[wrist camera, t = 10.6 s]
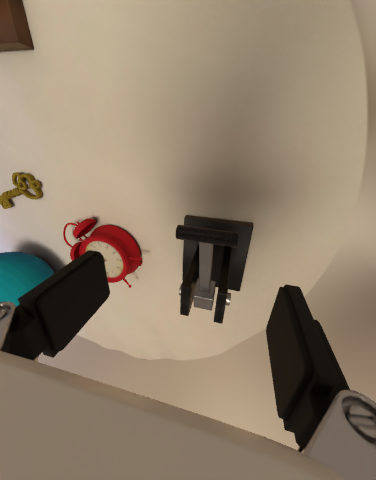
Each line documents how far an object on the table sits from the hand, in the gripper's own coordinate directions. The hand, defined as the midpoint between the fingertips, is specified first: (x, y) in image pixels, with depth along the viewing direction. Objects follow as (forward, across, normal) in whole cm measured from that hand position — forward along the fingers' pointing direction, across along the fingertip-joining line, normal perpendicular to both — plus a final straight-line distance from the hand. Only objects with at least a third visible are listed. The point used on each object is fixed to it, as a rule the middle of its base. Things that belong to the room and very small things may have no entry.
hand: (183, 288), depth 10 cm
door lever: (+10, 0, +4) cm, 11 cm away
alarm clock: (+20, +20, +11) cm, 30 cm away
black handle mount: (+20, 0, +9) cm, 22 cm away
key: (+20, +37, +2) cm, 42 cm away
